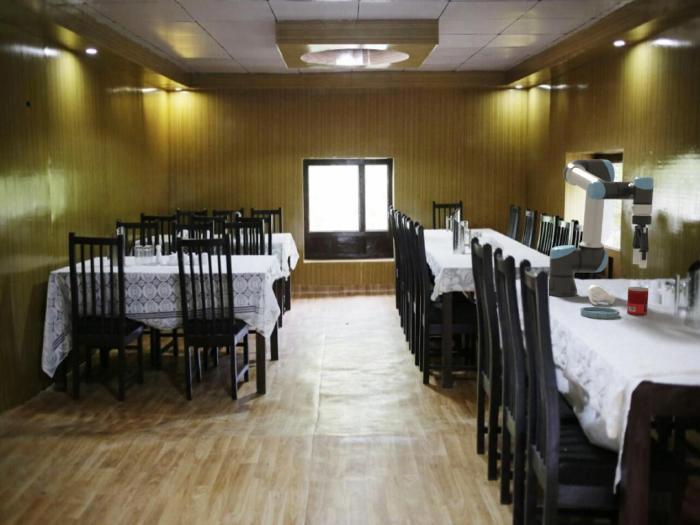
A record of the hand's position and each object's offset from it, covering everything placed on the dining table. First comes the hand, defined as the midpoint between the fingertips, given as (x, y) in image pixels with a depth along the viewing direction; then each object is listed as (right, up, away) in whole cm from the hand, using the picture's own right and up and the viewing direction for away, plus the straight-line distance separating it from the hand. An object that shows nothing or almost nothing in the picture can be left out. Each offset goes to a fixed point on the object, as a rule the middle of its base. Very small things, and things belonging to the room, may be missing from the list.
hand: (639, 266), depth 320 cm
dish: (-17, -20, -1) cm, 26 cm away
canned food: (0, -20, +3) cm, 20 cm away
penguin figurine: (-7, -17, +26) cm, 32 cm away
